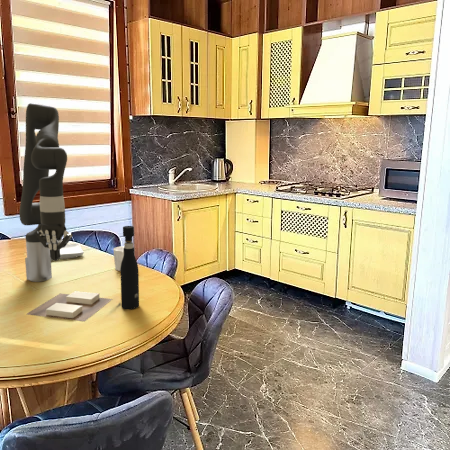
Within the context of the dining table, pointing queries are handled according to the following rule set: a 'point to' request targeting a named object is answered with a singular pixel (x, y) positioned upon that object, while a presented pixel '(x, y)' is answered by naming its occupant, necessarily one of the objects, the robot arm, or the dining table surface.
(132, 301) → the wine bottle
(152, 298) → the dining table surface
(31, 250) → the robot arm
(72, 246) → the salad plate
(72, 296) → the tile teal
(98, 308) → the board
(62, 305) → the tile terracotta
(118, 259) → the white cup
